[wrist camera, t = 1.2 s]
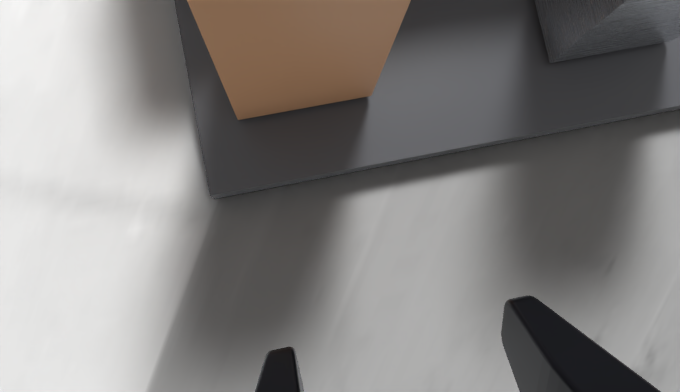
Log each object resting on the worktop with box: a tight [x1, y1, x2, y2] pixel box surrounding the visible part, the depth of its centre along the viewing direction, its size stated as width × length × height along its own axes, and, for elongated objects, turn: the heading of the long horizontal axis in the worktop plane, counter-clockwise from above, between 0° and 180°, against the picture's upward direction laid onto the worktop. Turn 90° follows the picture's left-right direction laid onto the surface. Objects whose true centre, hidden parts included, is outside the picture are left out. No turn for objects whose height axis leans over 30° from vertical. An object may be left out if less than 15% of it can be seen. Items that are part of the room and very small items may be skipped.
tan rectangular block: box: [187, 0, 411, 120], centre depth 18 cm, size 3×5×10 cm, turn 101°
